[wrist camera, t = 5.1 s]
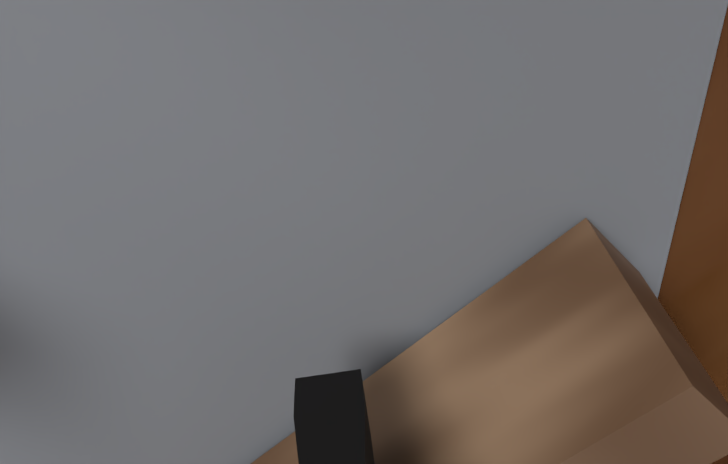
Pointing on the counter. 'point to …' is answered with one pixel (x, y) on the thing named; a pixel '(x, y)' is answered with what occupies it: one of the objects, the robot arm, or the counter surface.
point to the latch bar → (548, 375)
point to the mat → (303, 193)
